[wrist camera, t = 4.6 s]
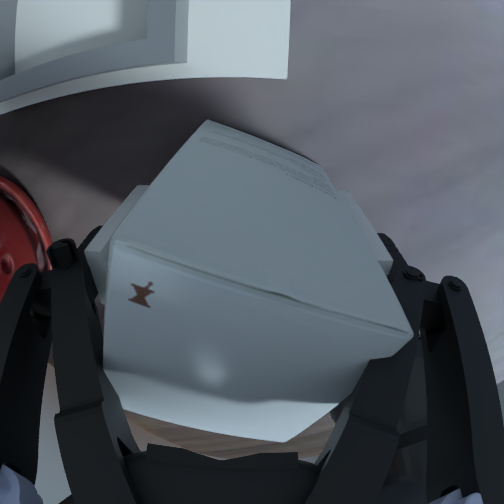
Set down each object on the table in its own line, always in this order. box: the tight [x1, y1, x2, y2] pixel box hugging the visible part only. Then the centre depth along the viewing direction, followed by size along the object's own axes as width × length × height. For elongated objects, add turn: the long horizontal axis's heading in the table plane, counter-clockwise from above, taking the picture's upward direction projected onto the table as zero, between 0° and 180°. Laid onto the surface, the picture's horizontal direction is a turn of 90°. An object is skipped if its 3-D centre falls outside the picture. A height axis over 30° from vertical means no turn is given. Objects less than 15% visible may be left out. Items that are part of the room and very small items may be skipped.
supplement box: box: [103, 119, 414, 442], centre depth 13 cm, size 7×7×13 cm
